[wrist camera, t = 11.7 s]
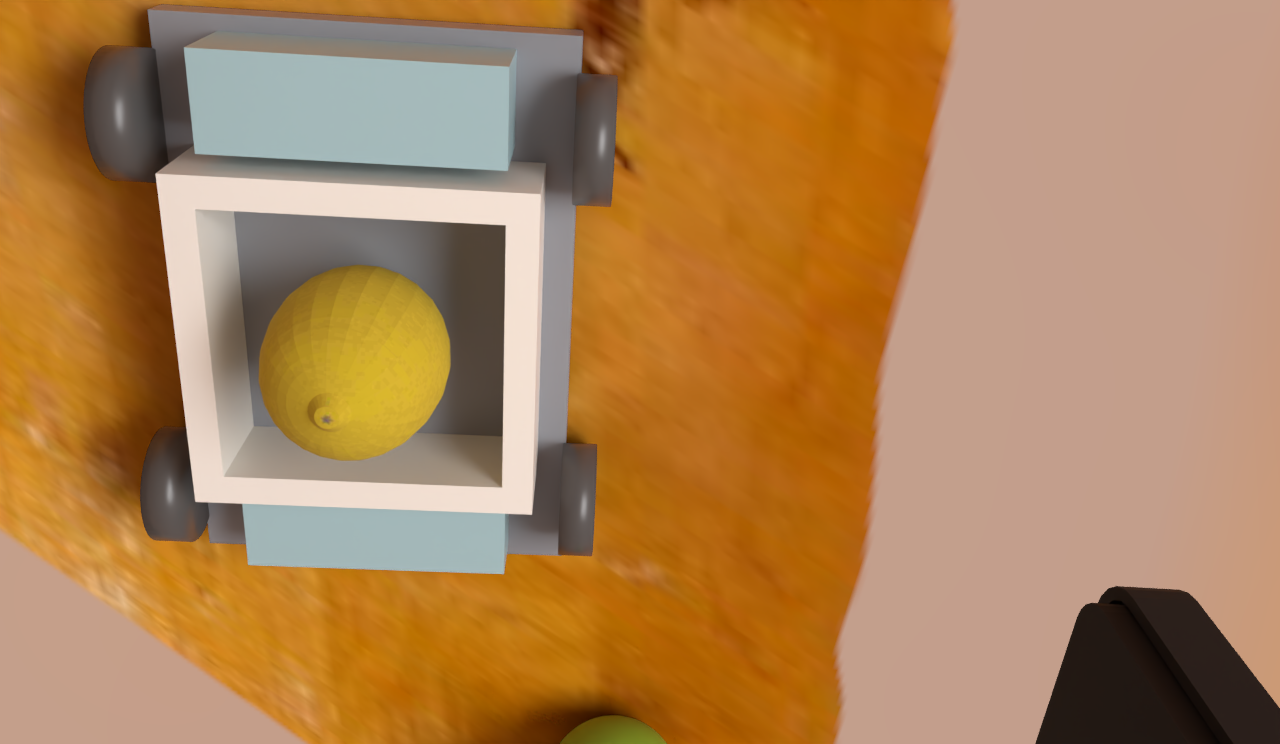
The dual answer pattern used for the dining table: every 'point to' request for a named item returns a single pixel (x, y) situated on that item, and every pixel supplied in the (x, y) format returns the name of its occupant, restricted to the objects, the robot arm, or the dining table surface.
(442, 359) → the lemon
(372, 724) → the dining table surface
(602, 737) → the snail figurine
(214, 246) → the chassis
